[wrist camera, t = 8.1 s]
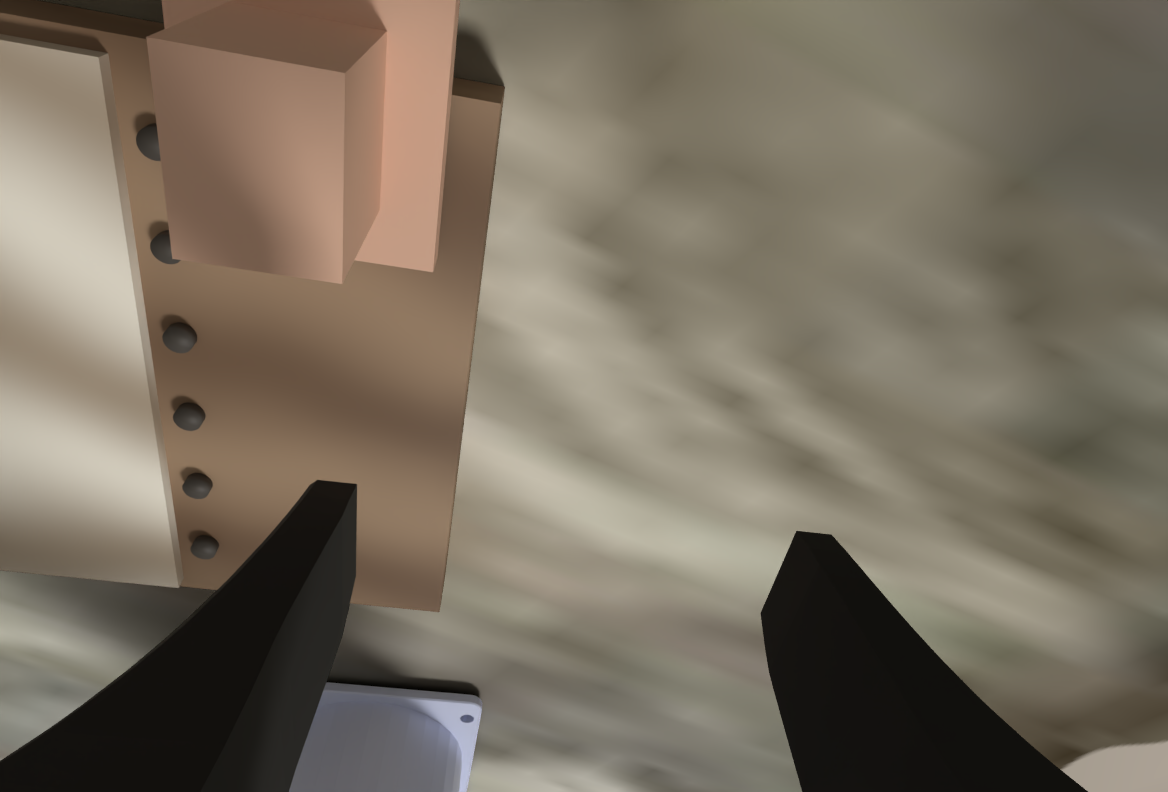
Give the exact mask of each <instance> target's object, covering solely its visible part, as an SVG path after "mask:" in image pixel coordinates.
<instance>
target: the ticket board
mask: <svg viewBox="0 0 1168 792" xmlns="http://www.w3.org/2000/svg"><path fill="white" fill-rule="evenodd" d="M164 29H165V28H164V24H163V23H158V22H152V21H147V20H141V19H136V18H131V17H125V16H120V15H114V14H109V13H104V12H98V11H93V10H87V9H82V8H77V7H71V6H66V5H60V4H55V3H50V2H44V1H39V0H0V570H2V571H12V572H22V573H32V574H42V575H52V576H62V577H73V578H83V579H93V580H103V581H113V582H123V583H133V584H143V585H153V586H164V587H174V588H179V586H181V587H191V588H201V589H212V590H218V589H219V588H220V587H221V586H222V585H223V584H224V583H225V582H226V581H227V580H228V579H229V578H230V577H231V576H232V575H233V574H234V573H235V571H236V570H237V569H238V568H239V567H240V566H241V565H242V564H243V563H244V562H245V561H246V560H247V559H248V557H249V556H250V555H251V554H252V553H253V552H254V551H255V550H256V549H257V548H258V547H259V546H260V545H261V544H262V542H263V541H264V540H265V539H266V538H267V537H268V536H269V534H270V533H271V532H272V531H273V530H274V529H275V528H276V526H277V525H278V524H279V523H280V522H281V521H282V519H283V518H284V517H285V516H286V515H287V513H288V512H289V511H290V510H291V508H292V507H293V506H294V505H295V503H296V502H297V501H298V500H299V498H300V497H301V496H302V495H303V493H304V492H305V491H306V489H307V488H308V487H309V485H310V484H312V483H313V482H315V481H316V480H325V481H334V482H343V483H353V484H357V540H356V578H355V583H354V587H353V592H352V596H351V601H350V603H353V604H363V605H373V606H383V607H393V608H403V609H413V610H423V611H434V612H439V611H440V605H441V599H442V592H443V586H444V579H445V572H446V564H447V556H448V547H449V539H450V531H451V523H452V515H453V507H454V498H455V490H456V482H457V474H458V466H459V458H460V449H461V441H462V433H463V425H464V417H465V409H466V400H467V392H468V384H469V376H470V368H471V360H472V352H473V343H474V335H475V327H476V319H477V311H478V303H479V294H480V286H481V278H482V270H483V262H484V254H485V245H486V237H487V229H488V221H489V213H490V205H491V196H492V188H493V180H494V172H495V164H496V156H497V147H498V139H499V131H500V123H501V115H502V107H503V99H504V90H505V87H504V86H498V85H493V84H487V83H482V82H477V81H471V80H466V79H460V78H455V77H453V85H452V97H451V108H450V120H449V131H448V143H447V154H446V166H445V177H444V189H443V200H442V212H441V224H440V235H439V247H438V257H437V261H436V264H435V267H434V271H433V272H427V271H421V270H414V269H408V268H401V267H395V266H388V265H382V264H375V263H369V262H362V261H356V260H354V262H353V264H352V266H351V268H350V270H349V272H348V274H347V276H346V278H345V280H344V282H343V284H338V283H331V282H325V281H318V280H311V279H305V278H298V277H291V276H285V275H278V274H271V273H264V272H258V271H251V270H244V269H238V268H231V267H224V266H218V265H211V264H204V263H197V262H191V261H184V260H177V259H172V252H171V243H170V235H169V226H168V218H167V209H166V201H165V192H164V184H163V175H162V166H161V158H160V149H159V141H158V132H157V124H156V115H155V107H154V98H153V90H152V81H151V73H150V64H149V56H148V47H147V39H146V37H147V36H150V35H152V34H154V33H157V32H159V31H161V30H164Z"/></svg>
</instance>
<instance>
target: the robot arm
mask: <svg viewBox="0 0 1168 792" xmlns="http://www.w3.org/2000/svg"><path fill="white" fill-rule="evenodd" d="M356 540H357V484H353V483H343V482H334V481H325V480H316V481H315V482H313V483H312V484H310V485H309V487H308V488H307V489H306V491H305V492H304V493H303V495H302V496H301V497H300V498H299V500H298V501H297V502H296V503H295V505H294V506H293V507H292V508H291V510H290V511H289V512H288V513H287V515H286V516H285V517H284V518H283V519H282V521H281V522H280V523H279V524H278V525H277V526H276V528H275V529H274V530H273V531H272V532H271V533H270V534H269V536H268V537H267V538H266V539H265V540H264V541H263V542H262V544H261V545H260V546H259V547H258V548H257V549H256V550H255V551H254V552H253V553H252V554H251V555H250V556H249V557H248V559H247V560H246V561H245V562H244V563H243V564H242V565H241V566H240V567H239V568H238V569H237V570H236V571H235V573H234V574H233V575H232V576H231V577H230V578H229V579H228V580H227V581H226V582H225V583H224V584H223V585H222V586H221V587H220V588H219V589H218V590H217V591H216V592H214V593H213V594H212V595H211V596H210V597H209V598H208V599H207V600H206V601H205V602H204V603H203V604H202V605H201V606H200V607H199V608H198V609H197V610H196V611H195V612H194V613H193V614H192V615H191V616H190V617H189V618H188V619H186V620H185V621H184V622H183V623H182V624H181V625H180V626H179V627H178V628H177V629H175V630H174V631H173V632H172V633H171V634H170V635H169V636H168V637H166V638H165V639H164V640H163V641H162V642H161V643H159V644H158V645H157V646H156V647H155V648H154V649H152V650H151V651H150V652H149V653H148V654H146V655H145V656H144V657H143V658H142V659H140V660H139V661H138V662H137V663H136V664H134V665H133V666H132V667H131V668H130V669H128V670H127V671H126V672H125V673H123V674H122V675H121V676H119V677H118V678H117V679H115V680H114V681H113V682H112V683H110V684H109V685H108V686H106V687H105V688H104V689H102V690H101V691H100V692H98V693H97V694H96V695H95V696H93V697H92V698H91V699H89V700H88V701H87V702H85V703H84V704H83V705H81V706H80V707H79V708H77V709H76V710H75V711H73V712H72V713H70V714H69V715H68V716H66V717H65V718H64V719H62V720H61V721H59V722H58V723H56V724H55V725H54V726H52V727H51V728H49V729H48V730H46V731H45V732H43V733H42V734H40V735H39V736H37V737H36V738H34V739H33V740H31V741H30V742H28V743H27V744H25V745H24V746H22V747H21V748H19V749H18V750H16V751H15V752H13V753H12V754H10V755H9V756H7V757H6V758H4V759H2V760H1V761H0V792H467V787H468V782H469V777H470V771H471V766H472V760H473V755H474V750H475V744H476V739H477V733H478V728H479V723H480V717H481V712H482V701H481V699H480V698H479V697H477V696H475V695H469V694H458V693H446V692H434V691H423V690H411V689H400V688H388V687H377V686H365V685H353V684H342V683H330V682H327V679H328V676H329V673H330V670H331V667H332V664H333V661H334V659H335V656H336V653H337V650H338V647H339V644H340V641H341V638H342V635H343V631H344V627H345V622H346V618H347V614H348V610H349V605H350V601H351V596H352V592H353V587H354V583H355V578H356ZM761 620H762V627H763V635H764V643H765V650H766V656H767V662H768V668H769V673H770V677H771V681H772V685H773V689H774V692H775V696H776V699H777V703H778V707H779V710H780V714H781V718H782V721H783V725H784V728H785V732H786V735H787V739H788V742H789V746H790V750H791V753H792V757H793V760H794V764H795V767H796V771H797V774H798V778H799V781H800V785H801V788H802V792H1088V791H1086V790H1085V789H1084V788H1083V787H1081V786H1080V785H1079V784H1078V783H1076V782H1075V781H1074V780H1073V779H1071V778H1070V777H1069V776H1067V775H1066V774H1065V773H1064V772H1063V771H1061V770H1060V769H1059V768H1058V767H1056V766H1055V765H1054V764H1053V763H1051V762H1050V761H1049V760H1048V759H1047V758H1046V757H1044V756H1043V755H1042V754H1041V753H1040V752H1038V751H1037V750H1036V749H1035V748H1034V747H1033V746H1031V745H1030V744H1029V743H1028V742H1027V741H1026V740H1025V739H1024V738H1022V737H1021V736H1020V735H1019V734H1018V733H1017V732H1016V731H1015V730H1014V729H1012V728H1011V727H1010V726H1009V725H1008V724H1007V723H1006V722H1005V721H1004V720H1003V719H1001V718H1000V717H999V716H998V715H997V714H996V713H995V712H994V711H993V710H992V709H990V708H989V707H988V706H987V705H986V704H985V703H984V702H983V701H982V700H981V699H980V698H979V697H978V696H977V695H976V694H975V693H974V692H973V691H972V690H971V689H970V688H969V687H968V686H967V685H966V684H965V683H964V682H963V681H962V680H961V679H960V678H959V677H958V676H957V675H956V674H955V673H954V672H953V671H952V670H951V669H950V668H949V667H948V666H947V665H946V664H945V663H944V662H943V661H942V660H941V658H940V657H939V656H938V655H937V654H936V653H935V652H934V651H933V650H932V649H931V648H930V647H929V646H928V645H927V643H926V642H925V641H924V640H923V639H922V638H921V637H920V636H919V635H918V634H917V632H916V631H915V630H914V629H913V628H912V627H911V626H910V625H909V624H908V622H907V621H906V620H905V619H904V618H903V617H902V616H901V614H900V613H899V612H898V611H897V610H896V609H895V608H894V606H893V605H892V604H891V603H890V602H889V601H888V600H887V598H886V597H885V596H884V595H883V594H882V593H881V591H880V590H879V589H878V588H877V587H876V586H875V584H874V583H873V582H872V581H871V580H870V579H869V577H868V576H867V575H866V574H865V573H864V571H863V570H862V569H861V568H860V567H859V566H858V564H857V563H856V562H855V561H854V560H853V559H852V557H851V556H850V555H849V554H848V553H847V552H846V550H845V549H844V548H843V547H842V546H841V545H840V544H839V543H838V541H837V540H836V539H835V538H834V537H833V536H832V535H830V534H820V533H811V532H802V531H796V533H795V536H794V538H793V540H792V543H791V545H790V547H789V549H788V552H787V554H786V556H785V559H784V561H783V563H782V565H781V568H780V570H779V572H778V575H777V577H776V579H775V581H774V584H773V586H772V588H771V591H770V593H769V595H768V598H767V600H766V602H765V604H764V607H763V609H762V611H761Z"/></svg>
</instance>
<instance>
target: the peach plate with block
mask: <svg viewBox="0 0 1168 792" xmlns="http://www.w3.org/2000/svg"><path fill="white" fill-rule="evenodd" d="M459 5H460V0H162V9H163V18H164V28H165V29H164V30H161V31H159V32H157V33H154V34H152V35H150V36H147V37H146V39H147V47H148V56H149V64H150V73H151V81H152V90H153V98H154V107H155V115H156V124H157V132H158V141H159V149H160V158H161V166H162V175H163V184H164V192H165V201H166V209H167V218H168V226H169V235H170V243H171V252H172V259H177V260H184V261H191V262H197V263H204V264H211V265H218V266H224V267H231V268H238V269H244V270H251V271H258V272H264V273H271V274H278V275H285V276H291V277H298V278H305V279H311V280H318V281H325V282H331V283H338V284H343V282H344V280H345V278H346V276H347V274H348V272H349V270H350V268H351V266H352V264H353V262H354V260H356V261H362V262H369V263H375V264H382V265H388V266H395V267H401V268H408V269H414V270H421V271H427V272H433V271H434V267H435V264H436V261H437V257H438V247H439V235H440V224H441V212H442V200H443V189H444V177H445V166H446V154H447V143H448V131H449V120H450V108H451V97H452V85H453V74H454V62H455V51H456V39H457V28H458V16H459Z"/></svg>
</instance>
